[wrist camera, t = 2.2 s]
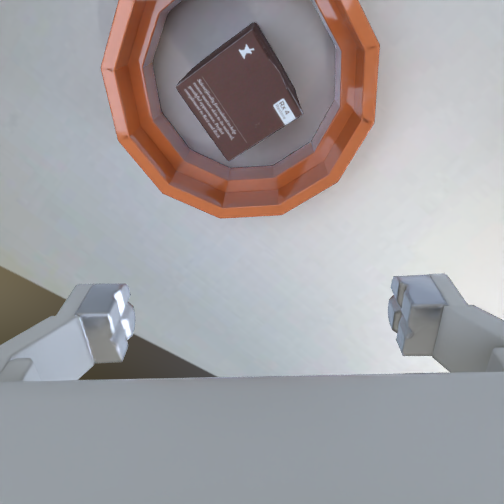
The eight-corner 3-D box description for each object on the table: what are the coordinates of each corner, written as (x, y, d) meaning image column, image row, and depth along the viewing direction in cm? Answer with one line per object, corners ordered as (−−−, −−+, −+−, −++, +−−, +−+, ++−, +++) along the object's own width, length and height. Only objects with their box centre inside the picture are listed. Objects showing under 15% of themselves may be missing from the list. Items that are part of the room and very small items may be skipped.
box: (190, 67, 33) (171, 84, 26) (256, 19, 31) (252, 25, 25) (234, 134, 35) (227, 164, 29) (298, 93, 33) (304, 115, 27)
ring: (366, -73, 28) (389, -89, 23) (354, 180, 37) (368, 210, 32) (105, -47, 29) (70, -56, 24) (155, 193, 38) (137, 223, 33)
